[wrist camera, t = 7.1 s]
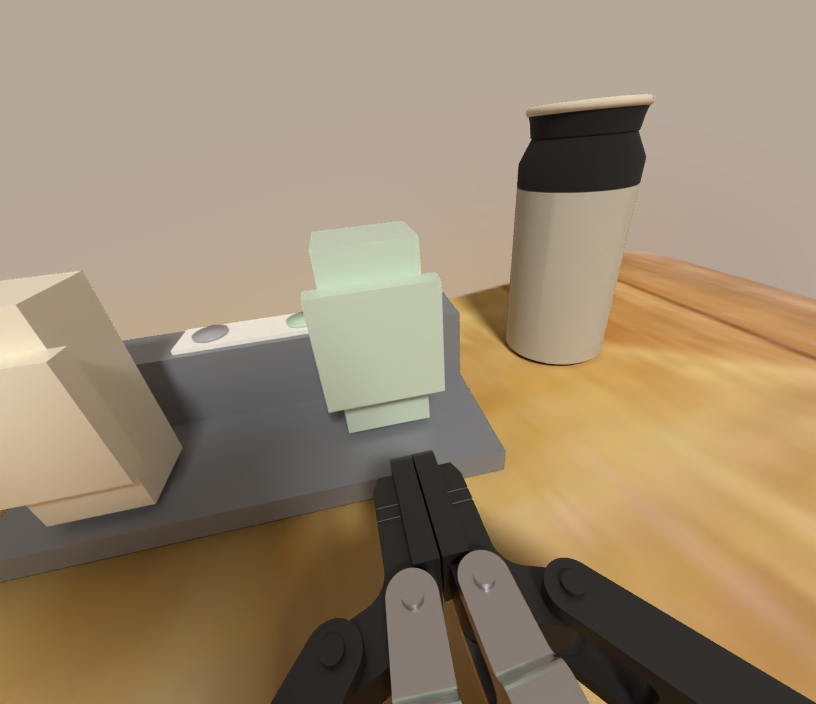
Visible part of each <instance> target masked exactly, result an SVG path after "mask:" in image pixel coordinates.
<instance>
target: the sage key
mask: <svg viewBox="0 0 816 704" xmlns="http://www.w3.org/2000/svg"><path fill="white" fill-rule="evenodd" d="M309 255H310V259H311V263H312V268H313V273H314V277H315V281H316V286H317V289H313V290H306V291H302V294H301V300H300V301H301V305H302V309H303V313H304V317H305V321H306V325H307V329H308V333H309V337H310V341H311V345H312V349H313V353H314V357H315V361H316V364H317V368H318V372H319V376H320V380H321V384H322V388H323V392H324V396H325V400H326V404H327V408H328V412H329V413H330V412H335V411H340V410H344V412H345V416H346V421H347V425H348V430H349V433H354V432H359V431H364V430H369V429H374V428H379V427H384V426H389V425H394V424H399V423H404V422H409V421H414V420H419V419H424V418H429V417H430V414H429V398H428V394H430V393H436V392H441V391H445V374H444V341H443V309H442V280H441V279H440V278H439V276H438V275H437V274H436V273H435V272H432V273H425V274H421V268H420V252H419V237H418V235H417V234H416V233H415V232H413V230H412V229H410V228H409V227H408V226H407V225H406V224H405V223H404V222H403V221H397V222H389V223H380V224H372V225H364V226H356V227H347V228H339V229H331V230H323V231H315V232H311V239H310V245H309Z"/></svg>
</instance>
